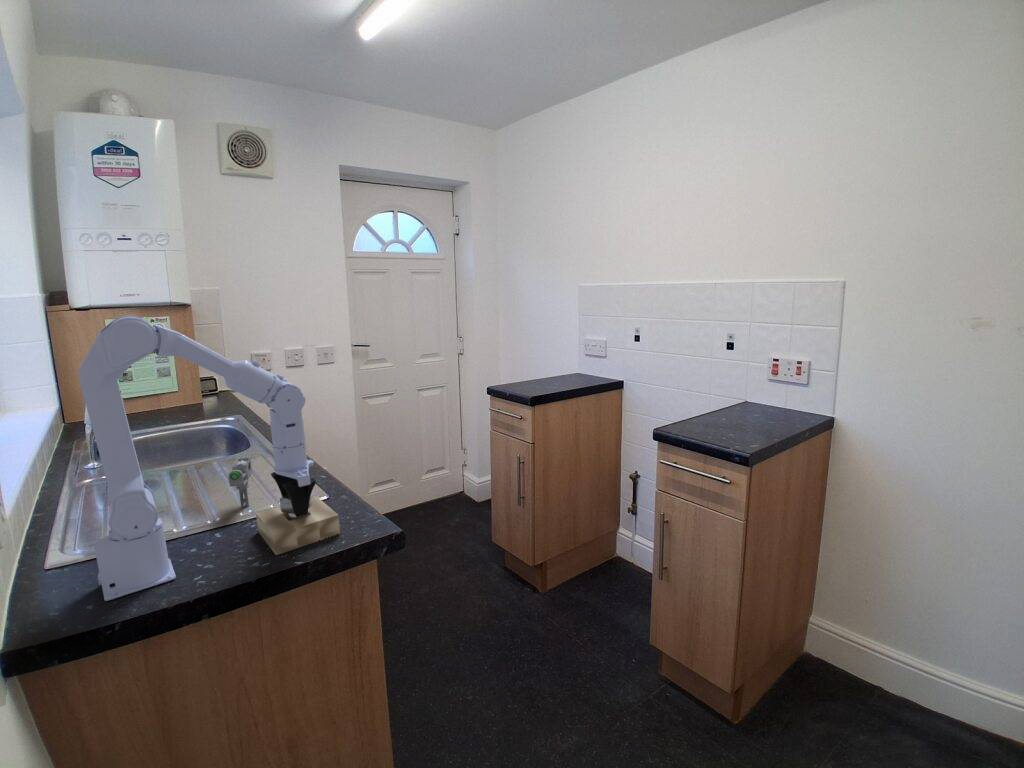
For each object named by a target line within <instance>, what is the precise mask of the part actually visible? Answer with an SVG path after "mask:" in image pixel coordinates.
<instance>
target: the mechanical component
mask: <svg viewBox="0 0 1024 768" xmlns="http://www.w3.org/2000/svg"><path fill="white" fill-rule="evenodd" d="M251 458H252V457H251V456H248V457H241V458H240V457H239V458H238V457H237V459H236V460H235V461H234V463H232V465H231V467H232V470H231V471H230V472H229V473H228V483H229V487H235V489H236V490H238V493H239V502H240V507H241V509H242V508H243V507H246V508H249V506H250V503H249V497H248V495H249V494H248V488H249V487H250V484H249V479H250V477H251V476H252V474H253V466H252V459H251Z"/></svg>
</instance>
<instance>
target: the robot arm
mask: <svg viewBox="0 0 1024 768" xmlns="http://www.w3.org/2000/svg"><path fill="white" fill-rule="evenodd" d="M153 326H154V327H153ZM153 352H154V353H155V355H156V356H157V357H180V358H182V359H184V360H186V361H188V362H190V363H193V364H195V365H197V366H198V367H201V368H203V369H206V370H208V371H210V372H212V373H214V374H217V375H219V376H220V377H223V379H224V382H225V385H226V388H228V389H230V390H232V391H234V392H236V393H238V394H240V395H243V397H247V399H248V398H249V399H250V400H252V401H255V402H257V403H259V404H265V405H266V406H267V407H268V408H269V416H270V425H269V426H270V430H271V431H270V432H271V433H270V434H271V439H272V440H271V441H272V450H273V459H274V468H273V469H274V471H273V472H271V473H270V475H271V478H272V479H274V481H275V483H276V485H277V487H278V489H279V492H280V495H281V497H283V496H284V495H287V494H288V495H289V498H290V500H291V504H292V508H293V511H294V514H295V516H296V517H299V516H302V515H306V514H307V513H308V508H309V501H310V496H311V495H312V492H313V490H314V487H315V485H316V479H315V478H314V477H311V475H310V473H309V471H310V470H309V469H310V467H313V466H314V460H312V459H308V456H307V447H306V446H307V445H306V436H305V435H306V434H305V426H304V419H303V413H302V410H303V408H304V406H305V404H306V397H305V396H304V394H303V391H302V390H301V389H300V388H299V387H298V386H296V385H295V384H293V383H290V382H288V380H287V379H284V378H285V376H283V375H281V374H280V373H279V374H277V375H276V374H274V373H272V372H270V371H268V370H266V369H264V368H262V367H260V366H261V363H259V362H257V360H253V359H251V361H250V360H247V359H242V360H241V359H240V360H236V361H232V360H230V359H228V358H227V357H225V356H224V355H221V354H219V353H217V352H216V351H213V350H212V349H210V348H208V347H206V346H205V345H203V344H201V343H199V342H198V341H196V340H194V339H192V338H190V337H189V336H186V335H185V334H182V333H181V332H179V331H176V330H173V329H171V328H168V327H165V326H163V325H160V324H157V323H153V322H152V325H151V324H150V322H148V321H147V320H146V319H144V318H142V317H139V316H137V315H131V314H130V315H129V314H127V315H123V316H122V315H120V316H119V317H118V316H117V317H116V318H114V319H113V320H112V321H111V322H109V323H108V324H107V325H105V327H103V328H102V329H101V330H100V331H99V333H98V334H97V335H96V337H95V340H94V341H93V343H92V345H91V346H90V348H89V350H88V351H87V353H86V355H85V357H84V359H83V360H82V362H81V363H80V366H79V368H78V371H77V377H78V380H79V381H78V382H79V384H80V387H81V388H80V389H81V391H82V395H83V399H84V403H85V406H86V410H87V413H88V418H89V421H90V425H91V428H92V431H93V435H94V440H95V443H96V447H97V450H98V454H99V457H100V462H101V465H102V469H103V473H104V477H105V479H106V484H107V490H108V495H109V501H108V509H109V518H108V526H109V530H108V535H106V536H104V537H102V538H99V539H95V540H94V550H95V551H94V552H95V555H96V556H95V557H96V562H97V568H98V573H97V580H98V584H99V586H101V589H102V594H103V599H104V601H105V602H107V601H111V600H115V599H118V598H120V597H123V596H127V595H129V594H132V593H136V592H139V591H142V590H145V589H148V588H151V587H154V586H158V585H160V584H163V583H167V582H170V581H172V580H175V579H176V578H177V577H176V573H175V570H174V567H173V564H172V561H171V558H169V553H168V548H167V541H166V535H165V530H164V522H163V520H162V519H161V518H160V517H159V512H158V509H157V506H156V504H155V500H156V499H155V498H156V497H155V493H154V491H153V490H152V489H151V488H150V487H149V486H148V485H147V484H146V483H145V482H144V477H143V473H142V471H141V466H140V463H139V459H138V455H137V453H136V448H135V444H134V440H133V436H132V433H131V432H132V431H131V427H130V425H129V420H128V416H127V414H126V413H127V412H126V409H125V406H124V400H123V398H122V393H121V390H120V386H119V379H120V378H121V377H122V376H123V374H125V372H127V370H129V368H130V367H131V365H133V364H135V363H138V362H139V361H141V360H143V359H145V358H146V357H148V356H149V355H151V354H152V353H153Z"/></svg>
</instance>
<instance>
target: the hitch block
mask: <svg viewBox="0 0 1024 768" xmlns="http://www.w3.org/2000/svg"><path fill="white" fill-rule="evenodd" d="M255 515H256V516H255V518H256V525H257V531H258V533H259V535H260V536H261V537H262V539H263V540H264V541H265V543H266V544H267V545H268V547H269V548H270V550H272V552H273V553H274V554H275V556H278V555H280V554H284V553H288V552H290V551H293V550H296V549H299V548H303V547H305V546H308V545H311V544H314V543H317V542H319V540H320V541H323V540H326V539H329V538H332V537H335V536H337V535H336V534H338V535H341V528H340V526H341V525H340V517H339V514H338V513H337V512H336V511H335V510H333V509H332V508H331V507H330V506H328V504H326V503H325V502H324V501H323V500H322V499H320V498H319V496H313V497H311V507H310V508H308V513H307V514H306V515H305V516H304V517H301V518H298V519H294V520H291V521H289V514H288V513H283V512H282V511H281V508H280V506H278V507H273V508H269V509H266V510H263V511H258V512H256V513H255ZM334 535H335V536H334ZM331 536H332V537H331ZM328 537H329V538H328ZM325 538H326V539H325Z"/></svg>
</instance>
